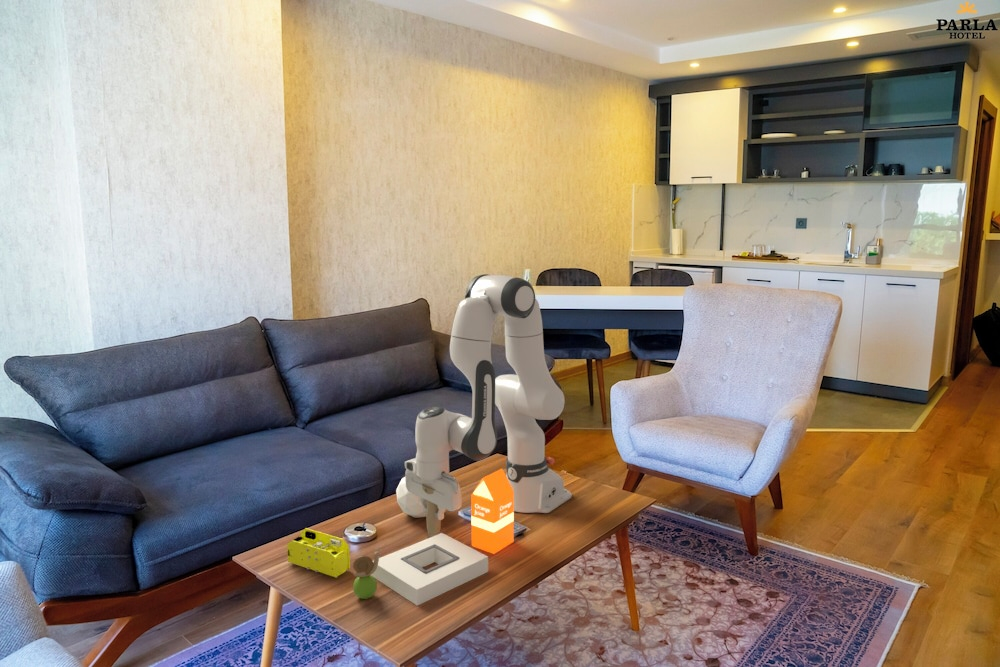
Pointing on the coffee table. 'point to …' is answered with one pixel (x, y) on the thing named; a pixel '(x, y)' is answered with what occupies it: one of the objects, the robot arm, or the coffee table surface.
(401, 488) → the geodesic sphere
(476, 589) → the coffee table surface
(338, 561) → the yellow toy chassis
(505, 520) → the orange juice
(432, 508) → the handle
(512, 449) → the robot arm
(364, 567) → the snail figurine
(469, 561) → the socket board
